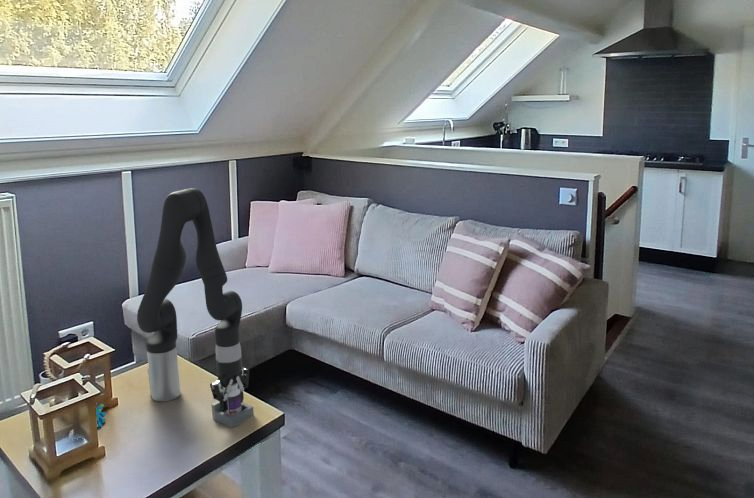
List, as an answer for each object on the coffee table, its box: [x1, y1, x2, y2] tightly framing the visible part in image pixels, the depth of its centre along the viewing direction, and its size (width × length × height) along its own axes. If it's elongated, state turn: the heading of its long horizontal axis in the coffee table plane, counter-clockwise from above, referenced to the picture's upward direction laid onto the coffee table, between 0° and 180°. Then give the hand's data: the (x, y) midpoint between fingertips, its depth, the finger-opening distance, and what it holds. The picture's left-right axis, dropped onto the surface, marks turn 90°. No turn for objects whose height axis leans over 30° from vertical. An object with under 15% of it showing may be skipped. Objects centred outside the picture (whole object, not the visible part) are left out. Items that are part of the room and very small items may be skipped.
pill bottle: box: [223, 383, 242, 416], centre depth 191 cm, size 5×5×10 cm
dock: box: [211, 400, 255, 428], centre depth 192 cm, size 9×9×5 cm
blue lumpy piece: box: [96, 402, 107, 428], centre depth 189 cm, size 11×6×10 cm
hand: (232, 405), depth 192 cm, fingers closed on pill bottle, 5 cm apart
